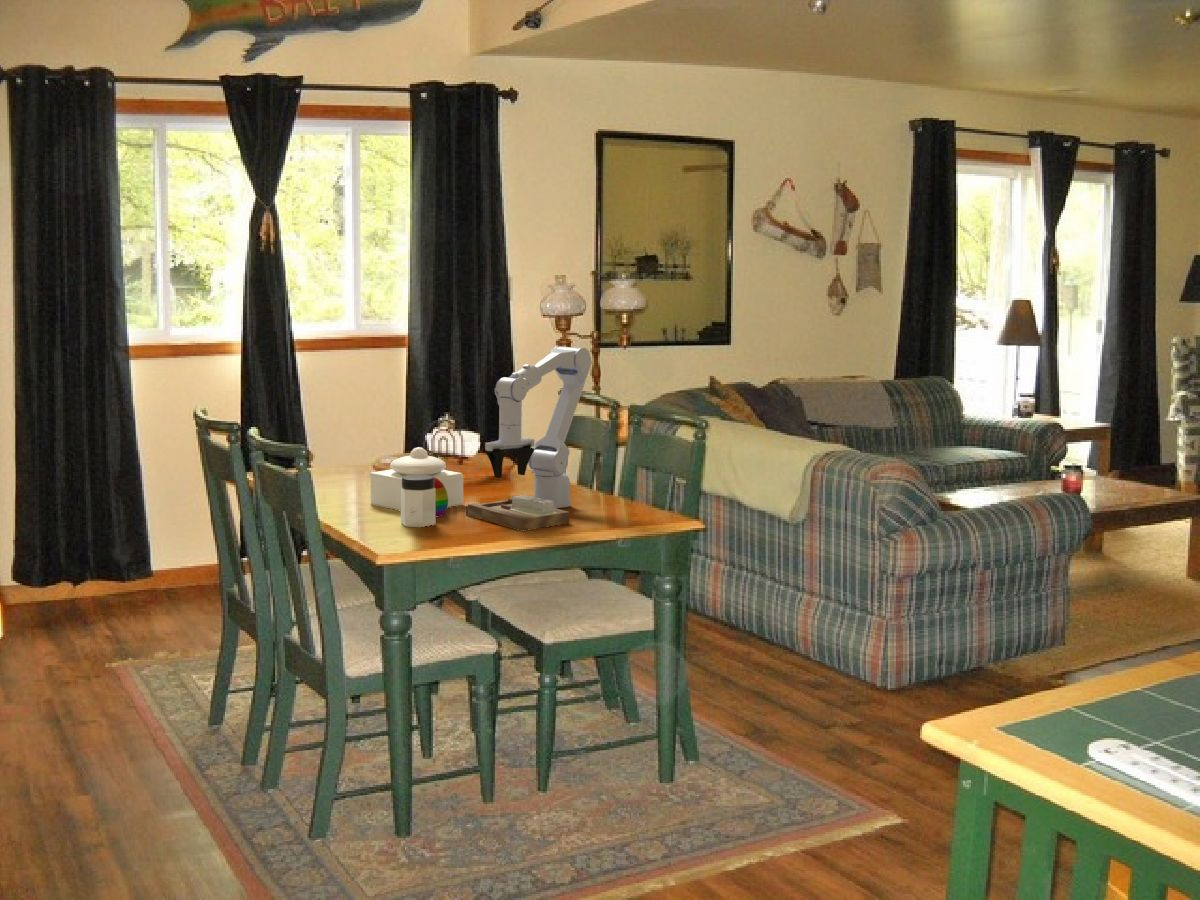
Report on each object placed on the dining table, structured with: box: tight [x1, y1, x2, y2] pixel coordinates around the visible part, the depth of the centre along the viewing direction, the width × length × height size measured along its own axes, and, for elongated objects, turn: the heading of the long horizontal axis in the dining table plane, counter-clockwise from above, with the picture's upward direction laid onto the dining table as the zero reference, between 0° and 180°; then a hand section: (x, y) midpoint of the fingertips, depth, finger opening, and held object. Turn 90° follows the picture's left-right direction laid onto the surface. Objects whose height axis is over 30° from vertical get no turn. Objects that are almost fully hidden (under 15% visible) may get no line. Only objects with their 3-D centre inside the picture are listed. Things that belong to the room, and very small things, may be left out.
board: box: [465, 497, 570, 532], centre depth 341 cm, size 15×24×4 cm, turn 41°
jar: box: [400, 474, 437, 528], centre depth 333 cm, size 9×8×12 cm
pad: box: [510, 509, 557, 517], centre depth 336 cm, size 7×10×1 cm
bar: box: [511, 494, 554, 515], centre depth 336 cm, size 4×11×3 cm, turn 47°
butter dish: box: [369, 446, 464, 512], centre depth 357 cm, size 18×18×16 cm
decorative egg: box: [434, 477, 448, 517], centre depth 344 cm, size 8×8×10 cm
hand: (509, 476), depth 345 cm, fingers open, 7 cm apart
